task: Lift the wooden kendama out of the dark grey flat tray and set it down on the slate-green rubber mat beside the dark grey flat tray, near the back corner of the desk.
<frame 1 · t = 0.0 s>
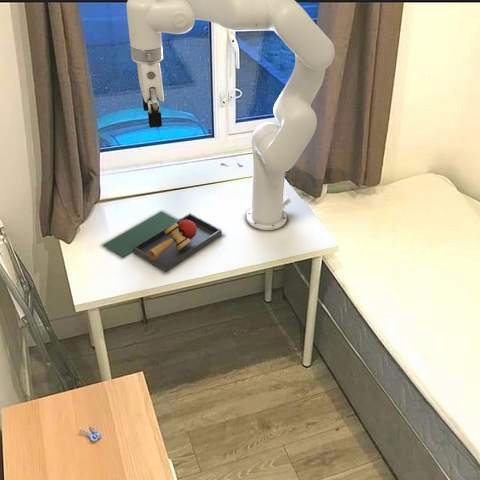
hand: (152, 118, 156), 37 cm above the table, tool pointing down, fingers open, 9 cm apart
dark grey flat tray: (178, 244, 177), on the table
kendama: (169, 244, 173), point 2 cm above the table
mat: (143, 233, 180), on the table
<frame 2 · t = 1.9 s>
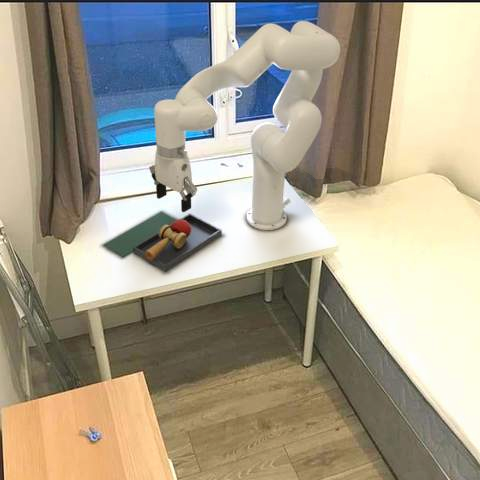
hand: (173, 203, 167), 14 cm above the table, tool pointing down, fingers open, 9 cm apart
kendama: (168, 247, 173), point 1 cm above the table, touching dark grey flat tray
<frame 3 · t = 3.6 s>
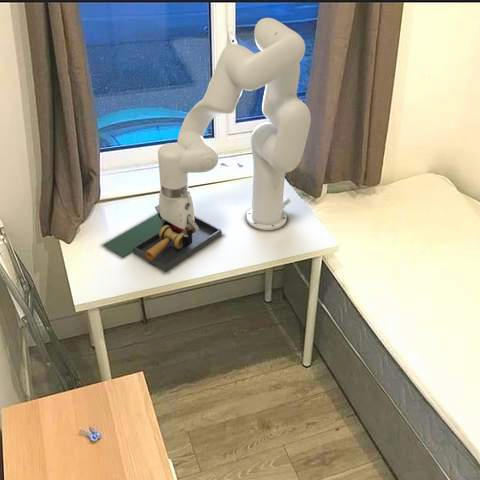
hand: (177, 239, 176), 2 cm above the table, tool pointing down, fingers closed on kendama, 7 cm apart
kendama: (168, 247, 173), point 1 cm above the table, touching gripper, dark grey flat tray
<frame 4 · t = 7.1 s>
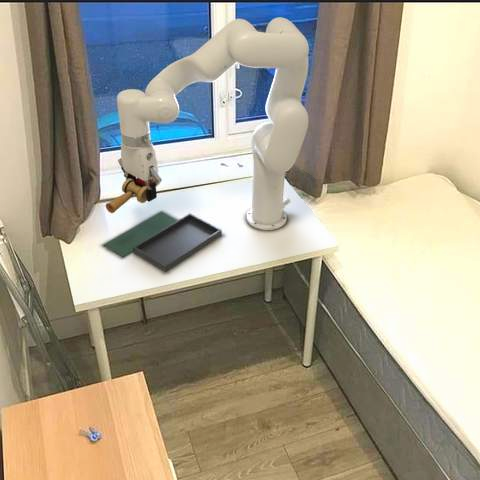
hand: (141, 193, 170), 14 cm above the table, tool pointing down, fingers closed on kendama, 7 cm apart
kendama: (132, 202, 168), point 14 cm above the table, touching gripper
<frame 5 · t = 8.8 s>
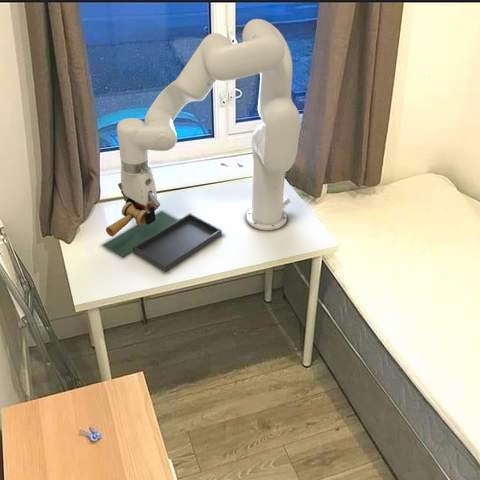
hand: (141, 216, 176), 6 cm above the table, tool pointing down, fingers closed on kendama, 7 cm apart
kendama: (131, 225, 173), point 6 cm above the table, touching gripper
when the fingers open (2 cm above the table, at t = 10.5 s): kendama stays where it is, resting on mat.
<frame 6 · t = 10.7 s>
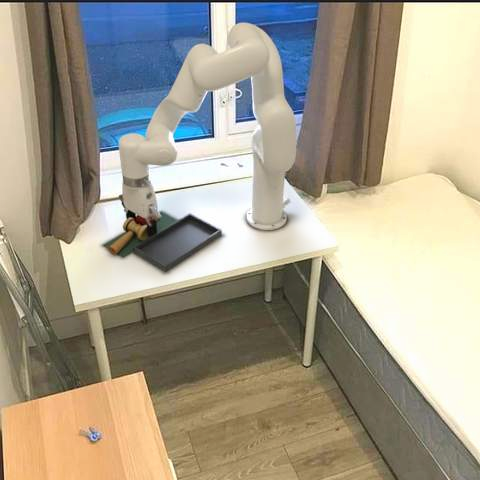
hand: (142, 228, 178), 2 cm above the table, tool pointing down, fingers open, 8 cm apart
kendama: (133, 240, 177), resting on mat
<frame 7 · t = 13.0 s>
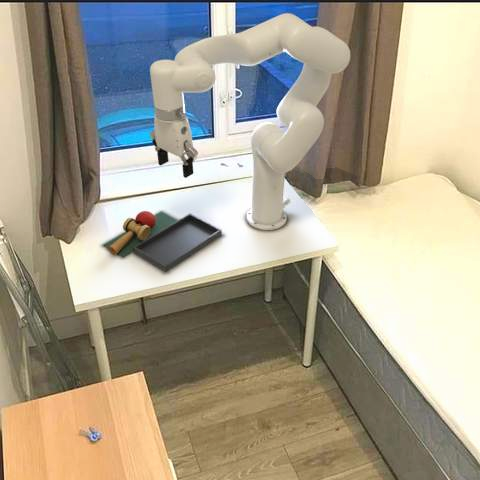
hand: (175, 169, 164), 24 cm above the table, tool pointing down, fingers open, 9 cm apart
nothing on the table moved.
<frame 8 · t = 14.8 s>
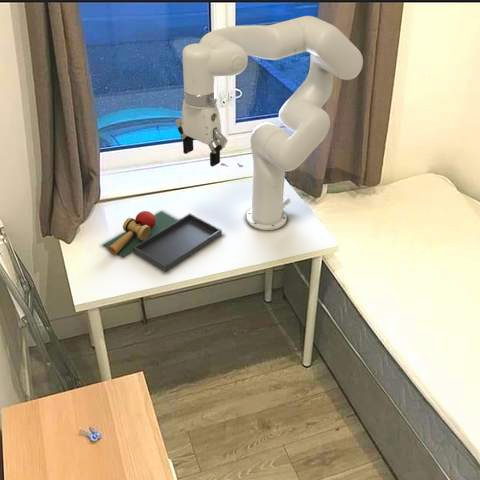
hand: (201, 158, 160), 28 cm above the table, tool pointing down, fingers open, 9 cm apart
nothing on the table moved.
at the end: kendama inside the target area on the mat (4.1 cm from its centre), point 0.1 cm above the mat's base; kendama touching mat; the gripper is holding nothing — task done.
